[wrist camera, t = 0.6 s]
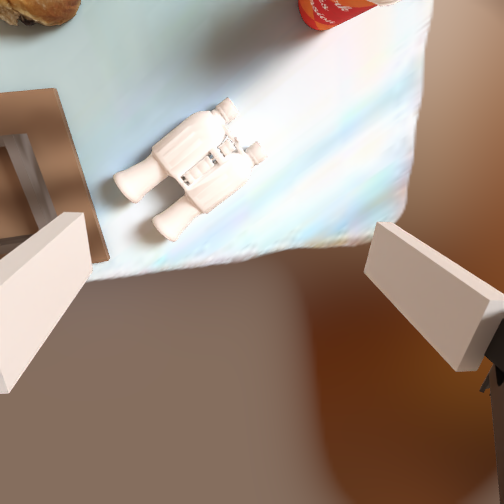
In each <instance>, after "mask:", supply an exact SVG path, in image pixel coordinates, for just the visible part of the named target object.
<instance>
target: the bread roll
mask: <svg viewBox="0 0 504 504" xmlns="http://www.w3.org/2000/svg"><path fill="white" fill-rule="evenodd" d="M80 5H81V0H0V19H2V20H4V21H5V22H7V23H8V24H10V25H15V26H18V24H17V23H18V20H17V19H19V20H21V21H22V22H23V23H24V24H26V25H27V26H29V25H34V24H35V23H40V24H42V25H44V26H54V25H61V24H63V23H65V22H67V21H68V20H70V19H72V18H73V17H74V16H75V15H76V12H77V10H78V8H79V6H80Z"/></svg>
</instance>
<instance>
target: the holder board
mask: <svg viewBox="0 0 504 504" xmlns="http://www.w3.org/2000/svg"><path fill="white" fill-rule="evenodd" d="M63 212H80V213H84V218H85V224H86V230H87V237H88V243H89V249H90V256H91V262H92V263H98V262H104V261H108V260H109V259H110V256H109V253H108V250H107V247H106V243H105V240H104V237H103V234H102V231H101V228H100V225H99V221H98V218H97V215H96V212H95V209H94V206H93V203H92V199H91V196H90V193H89V190H88V187H87V184H86V180H85V177H84V174H83V171H82V168H81V165H80V162H79V158H78V155H77V152H76V149H75V146H74V143H73V140H72V136H71V133H70V130H69V127H68V124H67V121H66V118H65V114H64V111H63V108H62V105H61V102H60V99H59V95H58V92H57V89H54V88H48V89H37V90H27V91H16V92H5V93H0V260H1V259H2V258H3V257H5V256H6V255H7V254H9V253H10V252H11V251H13V250H14V249H15V248H17V247H18V246H19V245H21V244H22V243H23V242H25V241H26V240H27V239H29V238H30V237H31V236H33V235H34V234H35V233H37V232H38V231H39V230H41V229H42V228H43V227H44V226H46V225H47V224H48V223H50V222H51V221H52V220H54V219H55V218H56V217H58V216H59V215H60V214H62V213H63Z"/></svg>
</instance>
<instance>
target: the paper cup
mask: <svg viewBox="0 0 504 504" xmlns="http://www.w3.org/2000/svg"><path fill="white" fill-rule="evenodd" d="M399 1H401V0H298V6H299V11H300V14H301V17H302V19H303V20H304V22H305V23H306V24H307V25H308V26H309V27H311V28H312V29H315V30H320V31H321V30H327V29H330V28H332V27H335V26H337V25H339V24H341V23H343V22H345V21H347V20H349V19H351V18H353V17H355V16H357V15H359V14H361V13H363V12H365V11H367V10H369V9H371V8H373V7H375V6H377V5H379V6H388V5H392V4H395V3H397V2H399Z"/></svg>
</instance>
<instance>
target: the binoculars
mask: <svg viewBox="0 0 504 504" xmlns="http://www.w3.org/2000/svg"><path fill="white" fill-rule="evenodd" d="M237 116H239V112H238V110H237V109H236V107H235V106H234V104H233V103H232V101H231V100H230V99H229V98H228V97H227V98H226V99H225V100H223V101H222V102H221V103H220V104H218V105H217V106H216V109H214V110H212V111H211V112H210V111H199V112H197V113H194V114H192V115H190V116H189V117H188V118H187V119H186V120H184V121H183V122H182V123H181V124H179V125H178V126H177V127H176V128H175V129H173V130H172V131H171V132H170V133H168V134H167V135H166V136H165V137H164V138H162V139H161V140H160V141H159V142H157V143H156V144H155V145H154V146H153V147H152V152H151V154H150V155H149V156H148V157H147V158H146V159H145V160H144V161H142V162H140V163H138V164H136V165H134V166H132V167H130V168H128V169H126V170H125V171H120V172H117V173H116V174H115V175H114V176H113V178H114V181H115V183H116V185H117V186H118V188H119V189H120V191H121V192H122V193H123V194H124V195H125V196H126V197H127V198H128V199H129V200H130V201H131V202H133V203H138V202H139V201H140V200H141V199H142V198H143V196H144V195H145V194H146V193H148V192H149V191H150V190H151V189H153V188H154V187H155V186H156V185H158V184H159V183H160V182H162V181H163V180H164V179H165V178H167V177H168V176H170V177H172V178H175V179H176V180H177V181H178V182H179V184H180V186H182V187H183V188H184V190H185V195H183V196H182V197H181V198H180V199H178V200H177V201H176V202H175V203H174V204H172V205H171V206H170V207H169V208H167V209H166V210H165V211H163V212H162V213H160V214H158V215H156V216H154V217H153V219H152V222H153V224H154V226H155V227H156V229H157V230H158V231H159V232H160V233H161V234H162V235H163V236H164V237H166V238H167V239H168V240H170V241H172V242H175V241H176V240H178V238H179V236H180V234H181V233H182V232H183V231H184V229H185V228H186V227H187V226H188V225H189V224H190V223H191V221H192V220H193V219H194V218H195V217H197V216H198V215H200V214H202V213H206V214H207V213H209V212H210V211H211V210H213V209H214V208H215V207H216V206H218V205H219V204H220V203H222V202H223V201H224V200H225V199H227V198H228V197H229V196H231V195H232V194H233V193H234V192H236V191H237V190H238V189H240V188H241V187H242V186H243V185H244V184H245V183H246V182H247V180H248V179H249V176H250V173H251V171H252V170H251V169H252V168H253V167H254V166H255V165H258V164H259V163H260V162H262V161H263V160H264V159H265V158H267V154H266V152H265V151H264V149H263V148H262V146H261V145H260V144H259V143H258V142H257V141H256V142H255V143H254V144H252V145H251V146H250V147H249V148H247V149H246V151H245V152H244V151H243V149H242V148H241V146H240V145H239V143H238V142H239V141H238V139H237V138H236V137H235V138H234V136H233V135H232V134H231V132H230V131H229V129H228V128H227V127H226V124H229V123H230V122H231V121H232V120H234V119H235V118H236V117H237ZM226 136H228V138H229V139H230V140H231V142H232V143H231V142H230V141H229V140H228V139H227V140H226V141H225V142H224V143H222V142H223V141H224V139H225V138H226ZM233 145H234V146H235V147H236V150H235V148H234V147H233ZM218 149H220V151H219V150H218ZM222 153H223V155H222ZM210 155H213V156H214V157H213V158H212V159H210V158H209V156H210ZM214 159H216V161H214V162H212V161H213V160H214ZM183 177H185V178H186V179H185V180H184V181H183V179H182V178H183ZM186 181H188V183H187V184H186V183H185V182H186Z"/></svg>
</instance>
